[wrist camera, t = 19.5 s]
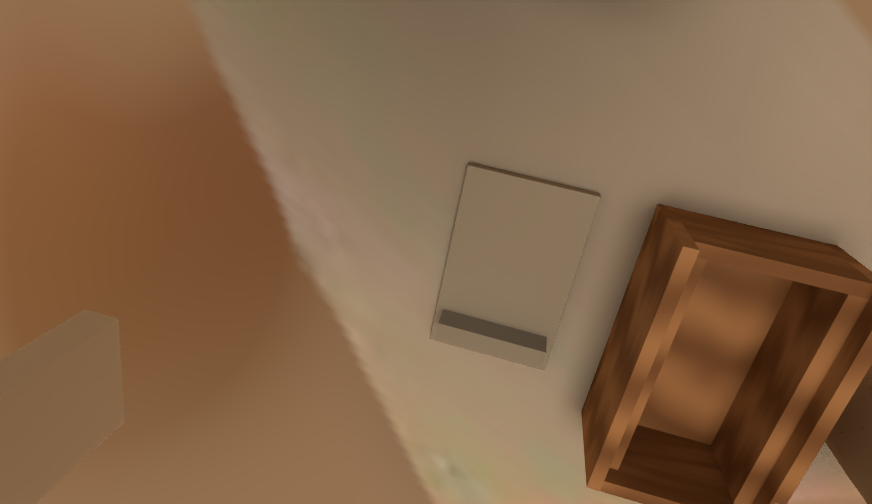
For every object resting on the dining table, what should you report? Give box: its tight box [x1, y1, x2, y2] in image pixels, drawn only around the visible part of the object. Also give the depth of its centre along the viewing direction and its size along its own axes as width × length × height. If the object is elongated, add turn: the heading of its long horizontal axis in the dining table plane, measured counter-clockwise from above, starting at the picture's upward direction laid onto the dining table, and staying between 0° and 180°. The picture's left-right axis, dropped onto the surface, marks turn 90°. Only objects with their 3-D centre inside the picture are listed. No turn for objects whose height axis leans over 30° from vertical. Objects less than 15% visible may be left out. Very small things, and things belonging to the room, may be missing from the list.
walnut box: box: [582, 204, 872, 504], centre depth 41 cm, size 20×13×9 cm, turn 169°
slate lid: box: [430, 162, 601, 370], centre depth 45 cm, size 16×10×4 cm, turn 169°
